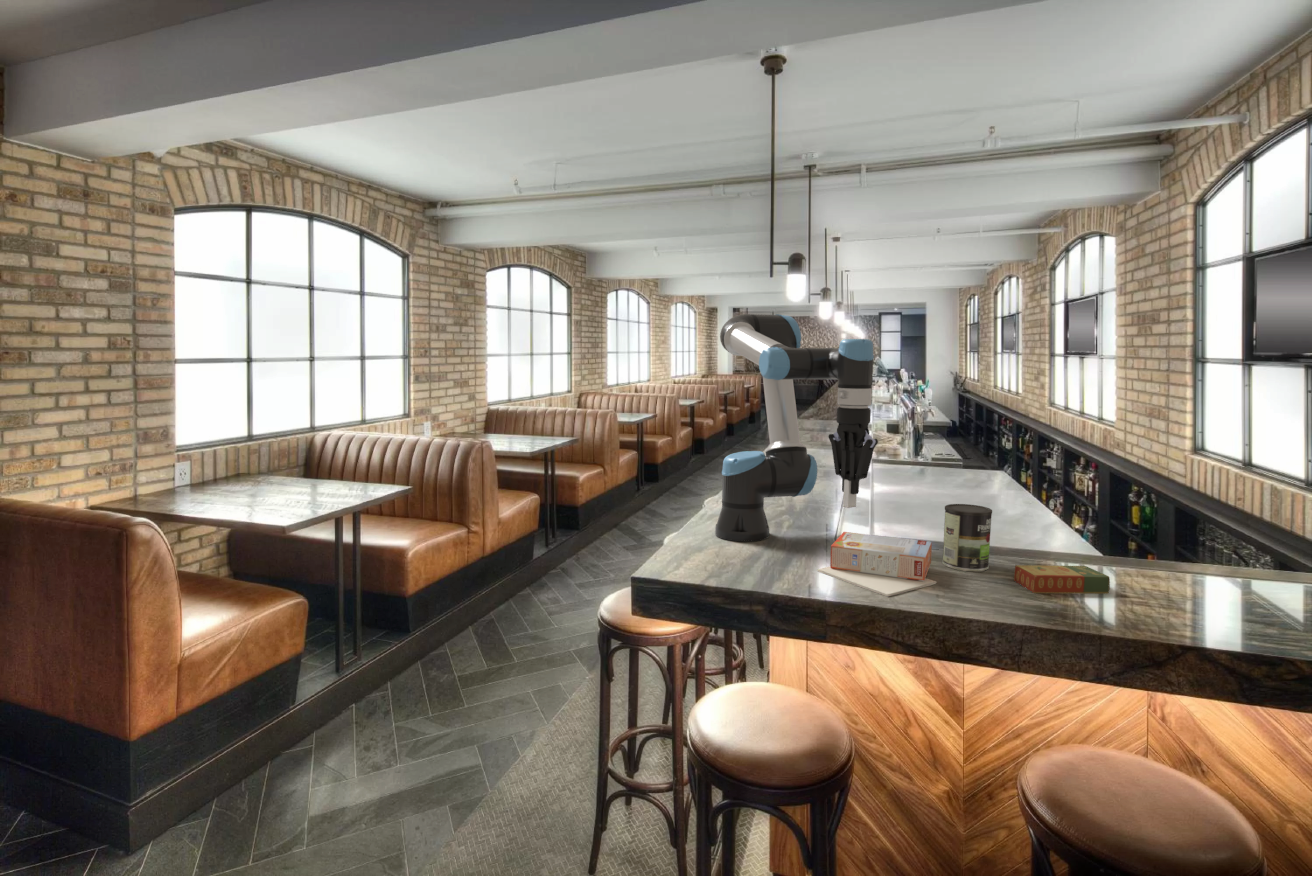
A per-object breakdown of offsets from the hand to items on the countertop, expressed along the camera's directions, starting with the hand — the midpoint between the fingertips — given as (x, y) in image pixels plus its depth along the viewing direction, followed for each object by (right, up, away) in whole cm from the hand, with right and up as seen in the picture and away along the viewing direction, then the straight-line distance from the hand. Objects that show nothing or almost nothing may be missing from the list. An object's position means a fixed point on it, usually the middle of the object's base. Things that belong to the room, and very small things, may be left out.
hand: (849, 506), depth 157 cm
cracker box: (-2, -11, +5) cm, 12 cm away
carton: (+43, -17, -11) cm, 47 cm away
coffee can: (+29, -15, +4) cm, 33 cm away
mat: (+4, -15, -5) cm, 17 cm away
